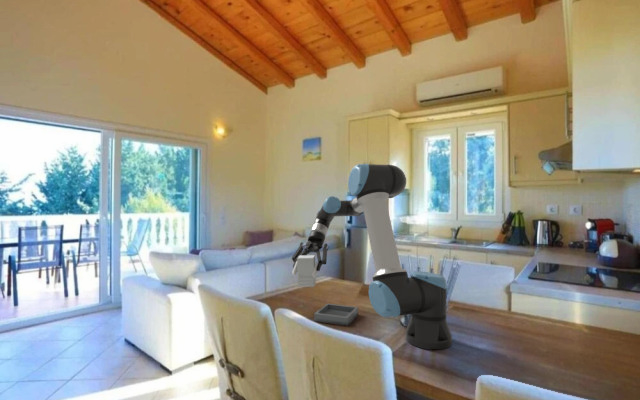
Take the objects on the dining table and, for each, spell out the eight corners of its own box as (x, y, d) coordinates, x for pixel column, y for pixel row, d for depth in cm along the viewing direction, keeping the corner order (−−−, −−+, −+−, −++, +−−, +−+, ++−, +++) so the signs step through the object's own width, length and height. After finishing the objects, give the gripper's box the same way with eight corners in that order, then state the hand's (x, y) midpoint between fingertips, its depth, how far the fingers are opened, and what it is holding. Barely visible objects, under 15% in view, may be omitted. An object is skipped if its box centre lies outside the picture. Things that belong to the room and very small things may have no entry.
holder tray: (358, 314, 145) (358, 307, 145) (347, 325, 132) (347, 318, 132) (327, 310, 150) (327, 303, 150) (314, 320, 138) (314, 313, 138)
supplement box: (316, 283, 155) (315, 255, 155) (314, 287, 148) (313, 257, 148) (299, 282, 156) (299, 254, 156) (297, 287, 149) (296, 257, 149)
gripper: (341, 240, 162) (329, 282, 147) (300, 239, 170) (284, 278, 156) (337, 230, 157) (324, 272, 142) (294, 229, 165) (278, 268, 151)
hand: (303, 275), depth 149 cm, fingers closed on supplement box, 9 cm apart
